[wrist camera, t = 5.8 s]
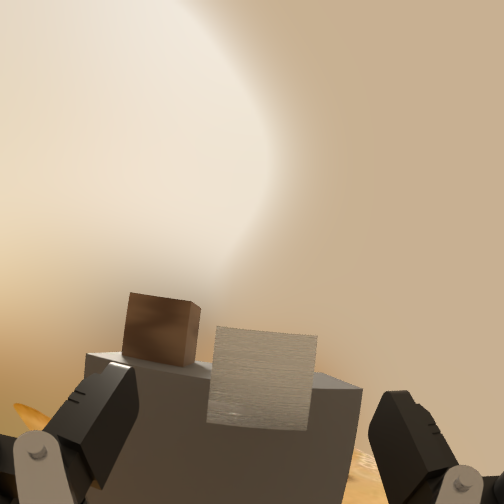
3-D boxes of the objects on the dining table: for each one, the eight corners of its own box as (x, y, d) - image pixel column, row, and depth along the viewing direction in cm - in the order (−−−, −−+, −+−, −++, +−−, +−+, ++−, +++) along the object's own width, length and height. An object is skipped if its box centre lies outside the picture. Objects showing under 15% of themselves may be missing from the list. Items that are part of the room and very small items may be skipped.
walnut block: (121, 355, 21) (130, 292, 22) (142, 353, 26) (149, 300, 27) (183, 367, 21) (191, 301, 22) (194, 362, 26) (201, 308, 27)
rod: (206, 422, 8) (216, 326, 9) (237, 360, 35) (239, 336, 36) (306, 430, 8) (317, 335, 9) (262, 363, 35) (264, 338, 36)
